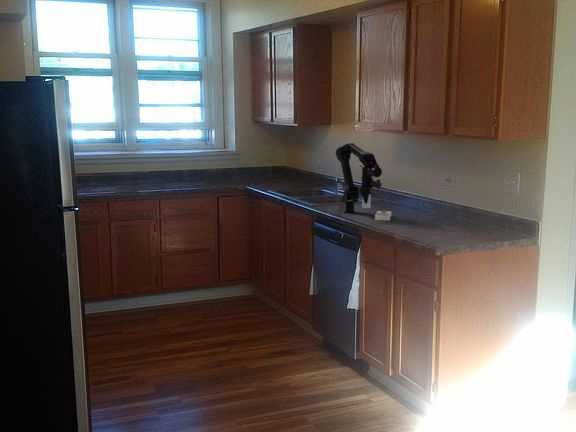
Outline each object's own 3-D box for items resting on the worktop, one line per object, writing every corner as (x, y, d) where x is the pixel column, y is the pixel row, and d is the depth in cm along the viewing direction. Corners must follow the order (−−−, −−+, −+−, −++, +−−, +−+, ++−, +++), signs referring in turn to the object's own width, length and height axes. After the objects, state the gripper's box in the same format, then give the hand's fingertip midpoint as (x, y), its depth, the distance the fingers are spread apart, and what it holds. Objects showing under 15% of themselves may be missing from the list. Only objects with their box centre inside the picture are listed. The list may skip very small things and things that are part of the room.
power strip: (377, 215, 374) (377, 209, 374) (391, 215, 373) (391, 210, 372) (374, 220, 359) (375, 214, 358) (389, 220, 357) (389, 215, 357)
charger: (362, 206, 372) (363, 194, 371) (370, 206, 371) (370, 194, 370) (362, 207, 368) (362, 195, 367) (369, 208, 367) (370, 195, 366)
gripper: (380, 177, 356) (379, 205, 359) (382, 174, 374) (381, 200, 377) (359, 177, 358) (359, 205, 361) (363, 173, 376) (362, 200, 379)
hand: (366, 202), depth 369 cm, fingers closed on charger, 4 cm apart
